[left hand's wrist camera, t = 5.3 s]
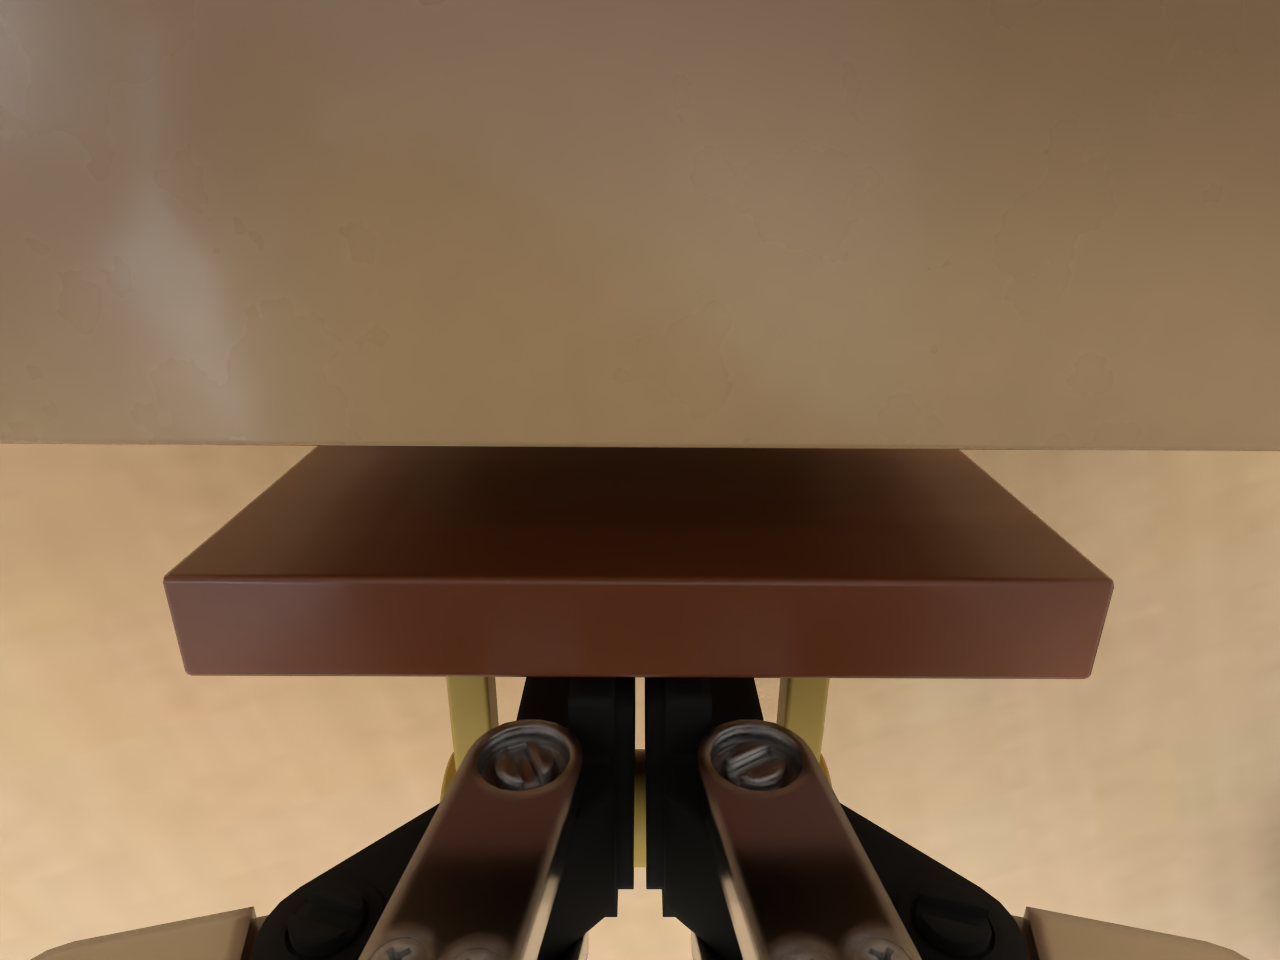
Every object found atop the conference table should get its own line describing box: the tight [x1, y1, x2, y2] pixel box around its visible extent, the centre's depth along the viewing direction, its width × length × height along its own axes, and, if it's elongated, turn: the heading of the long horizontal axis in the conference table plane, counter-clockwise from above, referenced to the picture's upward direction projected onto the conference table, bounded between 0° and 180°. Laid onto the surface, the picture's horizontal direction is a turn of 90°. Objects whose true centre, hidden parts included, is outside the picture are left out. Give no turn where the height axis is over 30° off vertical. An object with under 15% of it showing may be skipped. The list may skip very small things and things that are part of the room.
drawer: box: [163, 446, 1114, 867], centre depth 10 cm, size 23×10×8 cm, turn 0°
